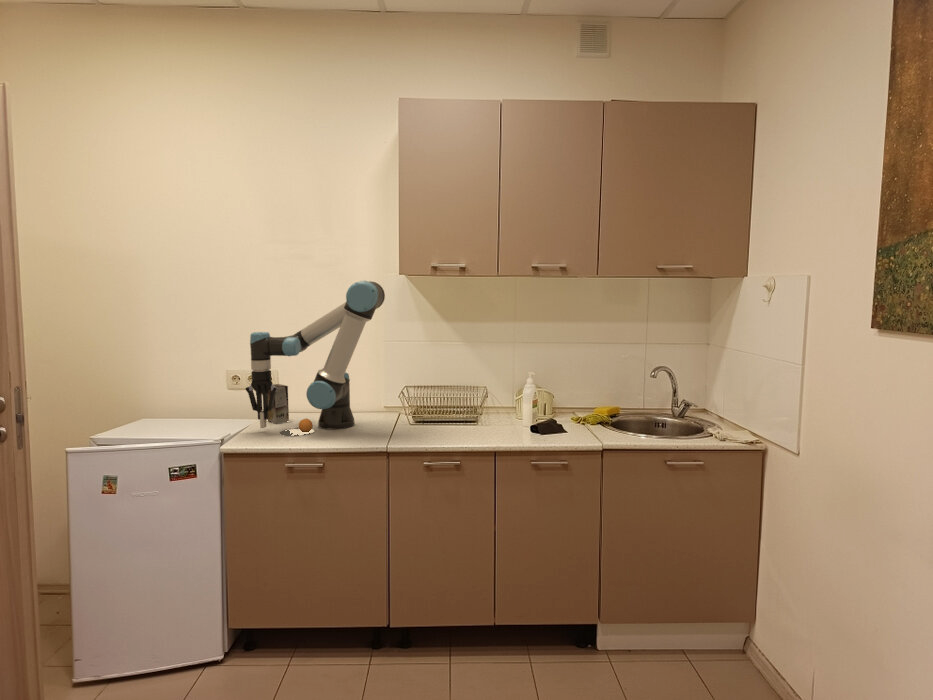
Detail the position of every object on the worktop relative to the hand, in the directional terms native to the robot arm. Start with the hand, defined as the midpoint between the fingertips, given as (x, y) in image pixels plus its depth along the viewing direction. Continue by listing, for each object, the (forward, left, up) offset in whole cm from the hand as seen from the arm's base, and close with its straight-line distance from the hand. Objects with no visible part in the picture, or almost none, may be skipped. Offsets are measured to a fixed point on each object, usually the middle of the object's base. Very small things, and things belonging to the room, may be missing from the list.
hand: (263, 427), depth 238 cm
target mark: (-14, 0, -2) cm, 14 cm away
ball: (-18, 0, +1) cm, 18 cm away
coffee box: (+1, -19, -2) cm, 19 cm away
